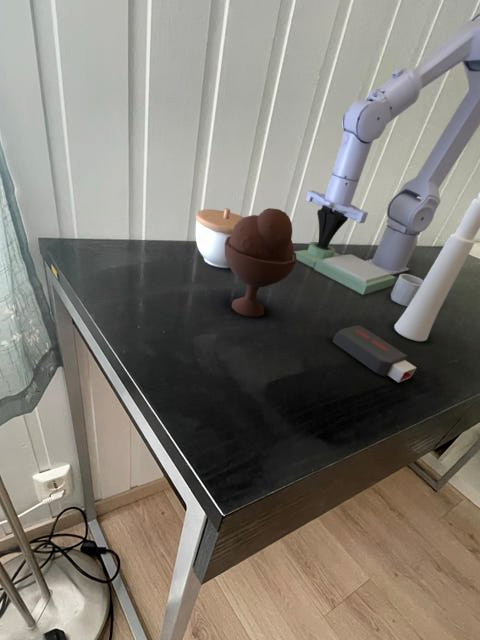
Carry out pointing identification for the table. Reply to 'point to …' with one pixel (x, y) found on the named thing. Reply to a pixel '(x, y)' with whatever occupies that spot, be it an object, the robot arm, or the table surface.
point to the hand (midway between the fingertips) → (322, 246)
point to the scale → (355, 273)
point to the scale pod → (315, 254)
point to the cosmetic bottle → (440, 278)
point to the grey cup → (405, 289)
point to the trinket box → (214, 234)
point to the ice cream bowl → (260, 255)
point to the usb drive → (374, 353)
